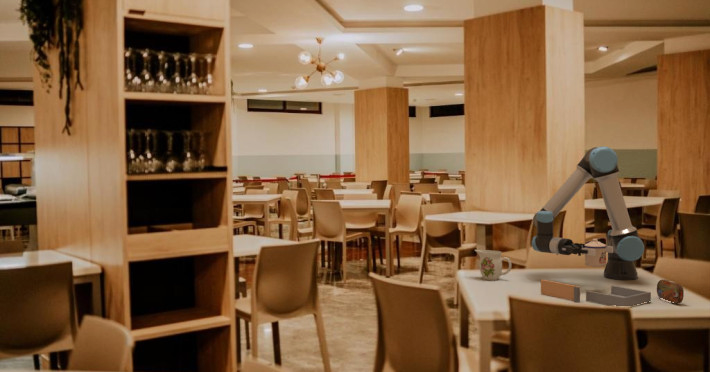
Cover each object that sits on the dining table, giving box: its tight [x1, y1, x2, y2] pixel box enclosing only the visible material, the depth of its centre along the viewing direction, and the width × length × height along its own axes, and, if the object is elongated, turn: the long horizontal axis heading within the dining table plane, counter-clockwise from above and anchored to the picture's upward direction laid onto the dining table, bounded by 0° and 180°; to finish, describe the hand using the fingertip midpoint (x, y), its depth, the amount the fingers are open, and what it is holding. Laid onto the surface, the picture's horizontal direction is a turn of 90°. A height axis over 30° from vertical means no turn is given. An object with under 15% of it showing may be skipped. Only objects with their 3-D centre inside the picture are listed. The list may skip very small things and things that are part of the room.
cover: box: [540, 279, 581, 301], centre depth 264 cm, size 19×1×6 cm, turn 34°
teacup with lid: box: [584, 238, 608, 268], centre depth 277 cm, size 12×9×12 cm
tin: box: [656, 279, 685, 304], centre depth 254 cm, size 15×3×8 cm, turn 5°
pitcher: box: [474, 249, 512, 281], centre depth 306 cm, size 11×18×14 cm, turn 62°
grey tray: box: [573, 285, 652, 307], centre depth 255 cm, size 23×19×6 cm
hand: (604, 251), depth 274 cm, fingers closed on teacup with lid, 12 cm apart
